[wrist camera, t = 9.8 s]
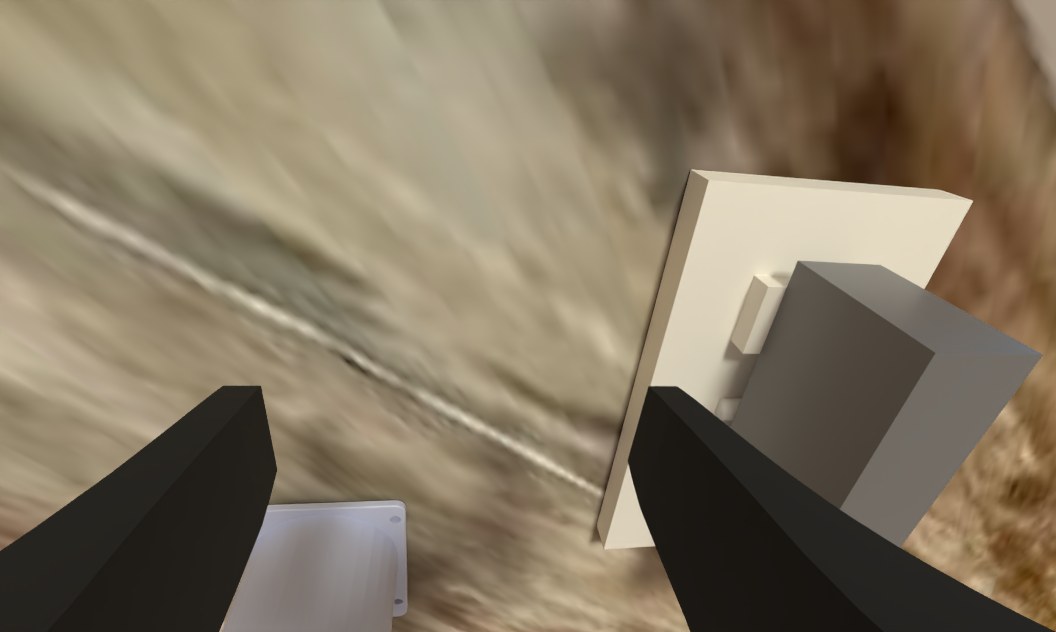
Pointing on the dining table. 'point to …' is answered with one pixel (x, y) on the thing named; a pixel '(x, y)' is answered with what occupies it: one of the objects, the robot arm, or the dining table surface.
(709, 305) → the plate
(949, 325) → the matte grey box
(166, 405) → the dining table surface
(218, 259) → the dining table surface
